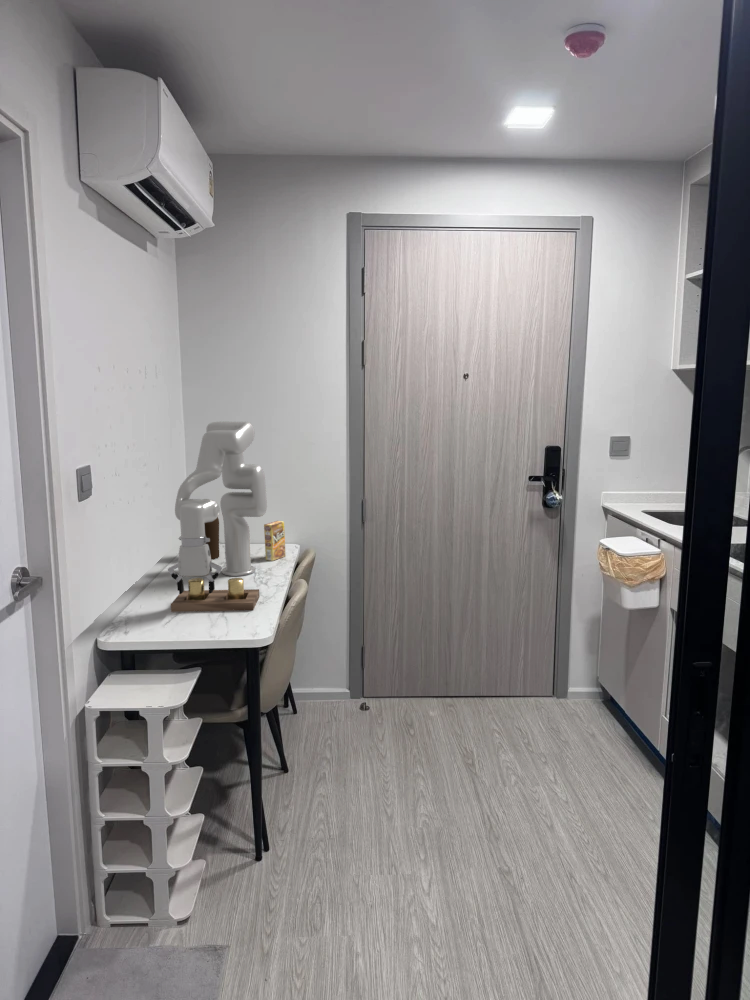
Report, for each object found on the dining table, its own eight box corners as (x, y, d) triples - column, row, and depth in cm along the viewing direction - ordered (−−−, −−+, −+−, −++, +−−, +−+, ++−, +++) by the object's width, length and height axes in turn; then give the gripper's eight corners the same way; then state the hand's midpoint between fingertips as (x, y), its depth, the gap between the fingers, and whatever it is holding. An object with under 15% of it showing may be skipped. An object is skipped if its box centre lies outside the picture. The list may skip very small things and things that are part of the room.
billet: (191, 601, 218) (190, 578, 216) (206, 601, 218) (205, 577, 217) (187, 606, 213) (186, 582, 212) (203, 606, 213) (202, 582, 212)
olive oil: (225, 555, 282) (222, 498, 278) (212, 561, 272) (209, 502, 268) (203, 553, 285) (200, 497, 281) (190, 559, 275) (186, 501, 271)
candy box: (273, 561, 271) (271, 525, 269) (264, 560, 274) (263, 524, 271) (286, 556, 279) (284, 521, 276) (278, 555, 281) (276, 520, 278)
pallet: (182, 600, 222) (182, 590, 222) (259, 599, 223) (259, 589, 223) (171, 614, 209) (170, 604, 208) (253, 613, 209) (253, 602, 209)
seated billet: (230, 601, 218) (229, 577, 217) (245, 600, 218) (244, 577, 217) (227, 606, 213) (226, 582, 212) (243, 605, 214) (242, 582, 212)
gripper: (222, 538, 216) (225, 588, 219) (169, 539, 215) (172, 589, 218) (218, 544, 208) (220, 595, 211) (163, 544, 208) (166, 596, 211)
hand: (196, 592), depth 215 cm, fingers open, 9 cm apart
